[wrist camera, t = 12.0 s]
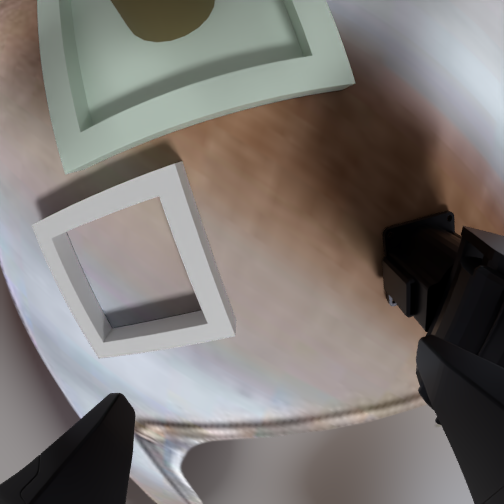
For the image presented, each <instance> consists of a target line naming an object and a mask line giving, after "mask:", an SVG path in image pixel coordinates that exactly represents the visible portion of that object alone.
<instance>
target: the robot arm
mask: <svg viewBox="0 0 504 504" xmlns="http://www.w3.org/2000/svg"><path fill="white" fill-rule="evenodd" d="M448 216H449V219H448V220H447V217H448ZM390 232H391V236H390V237H388V234H389V233H390ZM382 236H383V246H384V256H385V257H384V258H383V260H382V266H383V279H384V289H385V290H386V292H387V301H388V303H389V304H390V305H391V306H396V305H398V306H399V308H400V309H401V310H402V311H403V313H404V314H405V315H406V316H407V317H412V316H414V318H415V319H416V320H417V321H418V323H419V324H420V325H421V326H422V328H423V329H424V330H425V331H426V332H427V334H426V336H425V337H422V338H421V339H420V340H419V342H418V349H417V356H416V363H417V367H416V375H417V378H418V381H419V385H420V387H419V389H418V391H419V394H420V395H421V397H422V398H423V399H424V401H425V402H426V403H427V404H428V405H429V406H430V407H431V408H432V409H433V410H434V411H435V413H436V415H437V418H436V420H435V421H436V423H437V424H440V425H442V427H443V430H444V431H445V434H446V436H447V438H448V440H449V442H450V445H451V447H452V449H453V451H454V454H455V456H456V458H457V461H458V463H459V465H460V468H461V470H462V473H463V475H464V477H465V480H466V483H467V485H468V488H469V490H470V493H471V496H472V498H473V501H474V504H504V236H501V235H498V234H494V233H490V232H486V231H482V230H478V229H474V228H470V227H466V226H463V228H462V232H461V236H460V235H458V234H456V233H455V227H454V214H453V213H452V212H450V211H444V212H440V213H437V214H433V215H430V216H426V217H423V218H419V219H415V220H412V221H408V222H404V223H401V224H397V225H393V226H390V227H387V228H385V229H384V231H383V234H382ZM392 300H393V301H392ZM134 427H135V411H134V409H133V407H132V406H131V405H130V403H129V402H128V400H127V399H126V398H125V396H124V395H123V394H121V393H110V394H109V395H108V396H106V397H105V398H104V399H103V400H102V401H101V402H100V403H98V404H97V405H96V406H95V407H94V408H93V409H92V410H91V411H89V412H88V413H87V414H86V415H85V416H84V417H83V418H81V419H80V420H79V421H78V422H77V423H76V424H75V425H73V426H72V427H71V428H70V429H69V430H68V431H67V432H65V433H64V434H63V435H62V436H61V437H60V438H59V439H57V440H56V441H55V442H54V443H53V444H52V445H51V446H49V447H48V448H47V449H46V450H45V451H43V452H42V453H41V455H39V456H38V457H36V458H35V459H34V460H33V461H32V462H30V463H29V464H28V465H27V466H26V467H24V468H23V469H22V470H20V471H19V472H18V473H16V474H15V475H13V476H12V477H11V478H9V479H8V480H6V481H5V482H3V483H2V484H0V504H125V502H126V495H127V488H128V480H129V474H130V468H131V462H132V455H133V441H134Z"/></svg>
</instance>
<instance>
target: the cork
mask: <svg viewBox="0 0 504 504" xmlns="http://www.w3.org/2000/svg"><path fill="white" fill-rule="evenodd" d="M111 2H112V3H113V5H114V6H115V8H116V10H117V11H118V13H119V14H120V16H121V17H122V19H123V20H124V22H125V23H126V25H127V26H128V28H129V29H130V30H131V31H132V33H133V34H134V35H135V36H137V37H139V38H141V39H143V40H145V41H152V42H165V41H172V40H175V39H178V38H181V37H184V36H186V35H188V34H189V33H191V32H192V31H194V30H196V29H197V28H199V27H200V26H201V25H202V24H203V23H204V22H205V21H206V20H207V19H208V18H209V16H210V14H211V12H212V10H213V8H214V4H215V0H111Z"/></svg>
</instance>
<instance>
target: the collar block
mask: <svg viewBox="0 0 504 504" xmlns="http://www.w3.org/2000/svg"><path fill="white" fill-rule="evenodd" d="M158 196H159V197H160V200H161V203H162V206H163V209H164V212H165V215H166V218H167V221H168V223H169V226H170V229H171V232H172V234H173V237H174V240H175V243H176V245H177V248H178V251H179V253H180V256H181V259H182V261H183V264H184V267H185V269H186V272H187V274H188V277H189V279H190V282H191V284H192V287H193V289H194V292H195V294H196V297H197V299H198V302H199V304H200V306H201V309H202V310H201V311H196V312H192V313H187V314H182V315H178V316H173V317H168V318H163V319H158V320H154V321H149V322H144V323H138V324H133V325H128V326H123V327H117V328H112V327H111V326H110V324H109V322H108V320H107V318H106V316H105V315H104V313H103V311H102V309H101V307H100V305H99V303H98V301H97V299H96V297H95V295H94V293H93V291H92V289H91V287H90V285H89V283H88V281H87V279H86V277H85V274H84V272H83V270H82V268H81V266H80V263H79V261H78V259H77V256H76V254H75V252H74V249H73V247H72V245H71V242H70V240H69V237H68V235H67V231H69V230H71V229H74V228H76V227H79V226H81V225H83V224H86V223H88V222H91V221H93V220H96V219H98V218H101V217H103V216H106V215H108V214H111V213H114V212H116V211H119V210H122V209H124V208H127V207H130V206H132V205H135V204H138V203H141V202H143V201H146V200H149V199H152V198H155V197H158ZM32 227H33V230H34V233H35V235H36V238H37V240H38V243H39V245H40V248H41V250H42V253H43V255H44V257H45V260H46V262H47V264H48V266H49V269H50V271H51V273H52V275H53V277H54V279H55V282H56V284H57V286H58V288H59V290H60V292H61V294H62V296H63V298H64V300H65V301H66V303H67V305H68V307H69V309H70V311H71V313H72V315H73V316H74V318H75V320H76V322H77V323H78V325H79V327H80V329H81V330H82V332H83V334H84V335H85V337H86V339H87V340H88V342H89V344H90V345H91V347H92V349H93V350H94V352H95V353H96V355H97V356H98V358H107V357H115V356H123V355H131V354H138V353H145V352H151V351H158V350H164V349H170V348H176V347H182V346H188V345H193V344H198V343H204V342H209V341H214V340H219V339H224V338H229V337H234V336H235V333H236V318H235V315H234V313H233V310H232V307H231V305H230V302H229V299H228V296H227V293H226V291H225V288H224V285H223V282H222V279H221V277H220V274H219V271H218V268H217V265H216V262H215V259H214V257H213V254H212V251H211V248H210V245H209V242H208V239H207V236H206V233H205V230H204V227H203V224H202V221H201V218H200V215H199V212H198V209H197V206H196V203H195V200H194V197H193V194H192V190H191V187H190V184H189V181H188V178H187V175H186V171H185V168H184V165H183V162H182V161H181V162H178V163H175V164H172V165H169V166H166V167H163V168H161V169H158V170H155V171H152V172H150V173H147V174H144V175H142V176H139V177H136V178H134V179H131V180H129V181H126V182H124V183H121V184H119V185H116V186H114V187H112V188H109V189H107V190H104V191H102V192H100V193H98V194H95V195H93V196H91V197H88V198H86V199H84V200H82V201H80V202H77V203H75V204H73V205H71V206H69V207H67V208H65V209H63V210H61V211H59V212H56V213H54V214H52V215H50V216H48V217H46V218H45V219H43V220H41V221H39V222H37V223H35V224H33V225H32Z"/></svg>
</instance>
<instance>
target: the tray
mask: <svg viewBox="0 0 504 504" xmlns="http://www.w3.org/2000/svg"><path fill="white" fill-rule="evenodd" d="M37 13H38V34H39V46H40V56H41V65H42V72H43V79H44V86H45V92H46V97H47V103H48V108H49V113H50V118H51V122H52V127H53V131H54V135H55V139H56V143H57V147H58V151H59V154H60V158H61V162H62V165H63V169H64V172H65V174H69V173H73V172H77V171H81V170H85V169H87V168H89V167H91V166H93V165H95V164H97V163H99V162H101V161H103V160H106V159H108V158H110V157H112V156H114V155H117V154H119V153H121V152H124V151H126V150H128V149H131V148H133V147H135V146H138V145H140V144H143V143H145V142H148V141H150V140H153V139H156V138H158V137H161V136H164V135H166V134H169V133H172V132H175V131H177V130H180V129H183V128H186V127H189V126H192V125H195V124H198V123H201V122H204V121H207V120H211V119H214V118H217V117H221V116H224V115H227V114H231V113H235V112H238V111H242V110H246V109H250V108H253V107H257V106H261V105H266V104H270V103H274V102H279V101H283V100H288V99H293V98H298V97H303V96H308V95H314V94H320V93H326V92H332V91H339V90H343V89H345V88H347V87H349V86H351V85H353V84H355V80H354V76H353V73H352V70H351V67H350V64H349V61H348V58H347V55H346V52H345V49H344V46H343V43H342V40H341V37H340V35H339V32H338V29H337V27H336V24H335V22H334V19H333V17H332V14H331V12H330V9H329V7H328V4H327V2H326V0H215V4H214V8H213V10H212V12H211V14H210V16H209V18H208V19H207V20H206V21H205V22H204V23H203V24H202V25H201V26H200V27H199V28H197V29H196V30H194V31H192V32H191V33H189V34H188V35H186V36H184V37H181V38H178V39H175V40H172V41H165V42H152V41H145V40H143V39H141V38H139V37H137V36H135V35H134V34H133V33H132V31H131V30H130V29H129V28H128V26H127V25H126V23H125V22H124V20H123V19H122V17H121V16H120V14H119V13H118V11H117V10H116V8H115V6H114V5H113V3H112V2H111V0H37Z"/></svg>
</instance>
